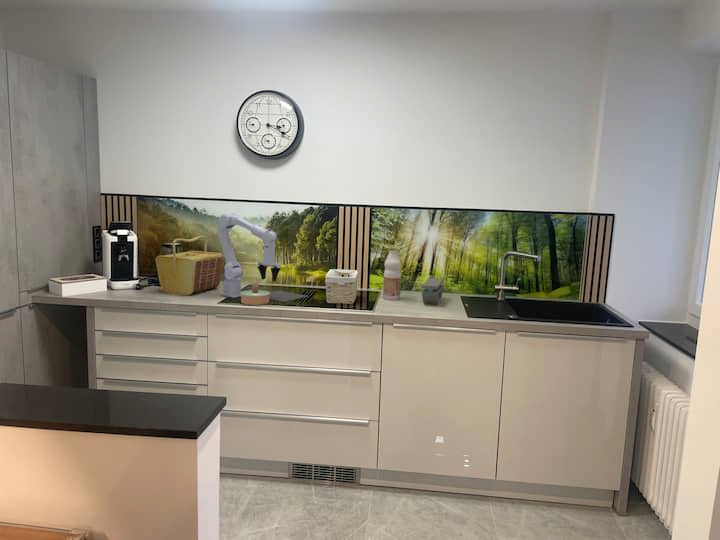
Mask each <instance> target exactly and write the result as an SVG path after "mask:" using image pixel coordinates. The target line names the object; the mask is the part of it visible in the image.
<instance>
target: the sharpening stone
mask: <svg viewBox="0 0 720 540" xmlns="http://www.w3.org/2000/svg"><path fill="white" fill-rule="evenodd" d="M444 282H445V279H444V278H437V277H436V278H434V277H430V278H428V279H427V280H426V281H425V282H424V283H423V284H422V285H421V287H422V288H421V289H423V290H422V292H421V297H422V303H423V304H426V305H427V304H429V305H436V306H437V305H439V304H440V303H441V301H442V297H443V291H444V284H443V283H444Z"/></svg>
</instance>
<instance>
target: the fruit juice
mask: <svg viewBox="0 0 720 540" xmlns="http://www.w3.org/2000/svg"><path fill="white" fill-rule="evenodd" d="M398 251H399V248H398V247H388V255H387V257H386V260H385V261H384V271H383V287H382V289H383V290H382V293H383V294H382V298H383V299H384V300H388V301H397V300H400V299H401V287H402V286H401V285H402V283H401V282H402V271H401V267H402V262H401V259H400V257H399V253H398Z"/></svg>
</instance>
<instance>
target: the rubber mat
mask: <svg viewBox="0 0 720 540" xmlns="http://www.w3.org/2000/svg"><path fill="white" fill-rule="evenodd" d="M269 292H270V295H269V301H273V302H278V303H282V304H283V303H288V302H292V301H297V300H301V299H306V298H308V297H309V295H304V294H300V293H293V292H288V291H283V290H282V291H281V290H274V291H269Z"/></svg>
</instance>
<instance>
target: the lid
mask: <svg viewBox="0 0 720 540" xmlns="http://www.w3.org/2000/svg"><path fill="white" fill-rule="evenodd" d="M259 288H260V287H259V282H251V289H248V290H241V292H240V294H241V295H243V296H249V297H260V296H267V295H270V292H271V291H268V290H264V289H263V290H262V289H259Z"/></svg>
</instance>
